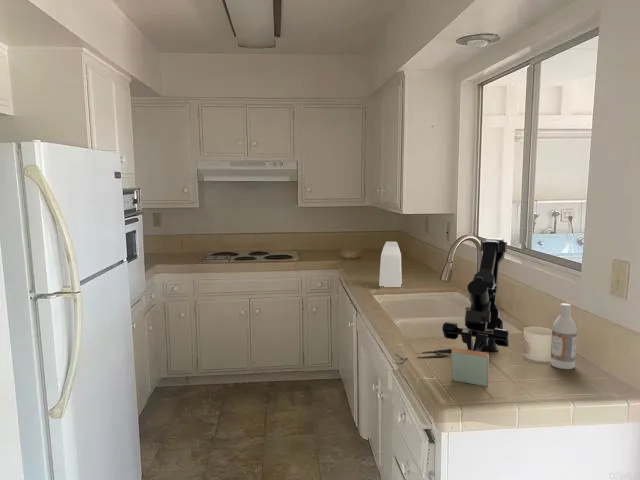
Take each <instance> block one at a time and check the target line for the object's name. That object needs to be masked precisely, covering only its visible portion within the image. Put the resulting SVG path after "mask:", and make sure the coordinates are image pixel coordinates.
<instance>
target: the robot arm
mask: <svg viewBox="0 0 640 480" xmlns="http://www.w3.org/2000/svg"><path fill="white" fill-rule="evenodd" d="M479 251H480V252H482V254H481V255H482V256H481V260H480V266H479V271H478V272H476V273H475V274H473V279H472V281H469V283H468V284H467V294H468V298H469V299H468V300H469V301H470V305H469V306H470V307H469V310H465V315H464V326H465V327H462V328H461V327H458V324H457V322H451V321H450V322H449V321H445V322H444V323H442V328H441V330H442V333H443V336H444V338H445V339H447V340H449V339H450V340H457V339H458V338H459V335H460V336H461V339H462V343H463V344H466V347H467V350H472V351H479V352H481V351H482V352H486V351H487V352H499V350H500V349H499V348H498V346H499V347H504V348H508V347H509V346H510V332H509V331H508V329H504V322H503V319H502V317H501V316H500V314H501V313H500V311H499V308H498V307H497V304H496V303H497V293H498V292H499V287H498V282H499V281H498V279H499V269H500V263H501V262H502V261H503V260H504V259H505V253H506V252H508V242H507V241H505V240H504V238H490V237H489V238H488V237H487V238H485V239H484V240H480V250H479ZM473 337H475V340H473Z"/></svg>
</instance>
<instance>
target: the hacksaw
mask: <svg viewBox="0 0 640 480" xmlns="http://www.w3.org/2000/svg"><path fill="white" fill-rule="evenodd" d="M451 351H452V348H447V349H437V350H433V351H429V350H428V351H421V352H422V354H434V353H435V354H437V355H435V354H434V355H424V356H423V355H422V356H416V357H417V358H422V359H433V358H434V359H436V358H449V359H452V357H451ZM448 353H449V354H448ZM395 356H396V357H399V360H400V361H402V362H400V363H395V362H393V361H391V363H392V364H394V365H403V364H404V363H405V361H408V360H407V359H408V358H409V357H407V358H405V357H404V358H403V357H402V356H400V355H398V353H397V354H395Z"/></svg>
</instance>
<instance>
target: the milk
mask: <svg viewBox="0 0 640 480" xmlns="http://www.w3.org/2000/svg"><path fill="white" fill-rule="evenodd" d="M402 270H403V269H402V252H401V250H400V247H399V244H398V241H385V243H384V245H383V248H382V251H381V255H380V265H379V282H378V287H379V286H384V287H401V284H402V285H403V274H402Z"/></svg>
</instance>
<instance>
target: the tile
mask: <svg viewBox="0 0 640 480" xmlns="http://www.w3.org/2000/svg"><path fill="white" fill-rule="evenodd" d="M451 349H452V351H451V353H450V355H451V356H450V357H451V377H452V381H455V382H461V383H466V384H471V385H478V386H481V387H489V384H490V354H489V352H486V351H472V350H468V349H464V348H459V347H452V348H451Z"/></svg>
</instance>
